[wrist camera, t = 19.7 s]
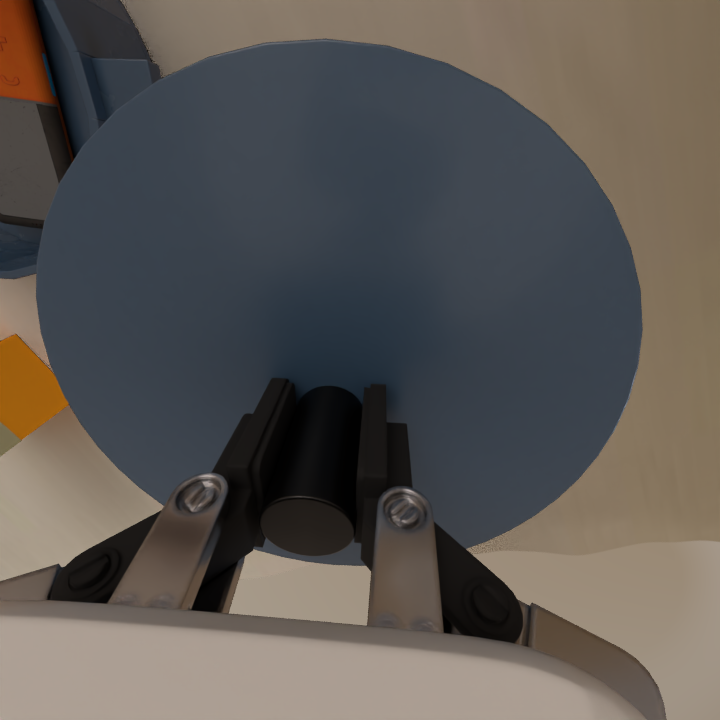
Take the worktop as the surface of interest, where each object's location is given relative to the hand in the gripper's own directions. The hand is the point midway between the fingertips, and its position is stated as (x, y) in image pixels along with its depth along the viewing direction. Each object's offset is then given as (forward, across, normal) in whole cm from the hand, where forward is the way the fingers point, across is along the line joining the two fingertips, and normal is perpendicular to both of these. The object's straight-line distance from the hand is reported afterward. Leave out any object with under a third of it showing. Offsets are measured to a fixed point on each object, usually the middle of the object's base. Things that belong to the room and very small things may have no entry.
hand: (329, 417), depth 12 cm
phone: (+16, +22, -10) cm, 29 cm away
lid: (+1, 0, 0) cm, 1 cm away
